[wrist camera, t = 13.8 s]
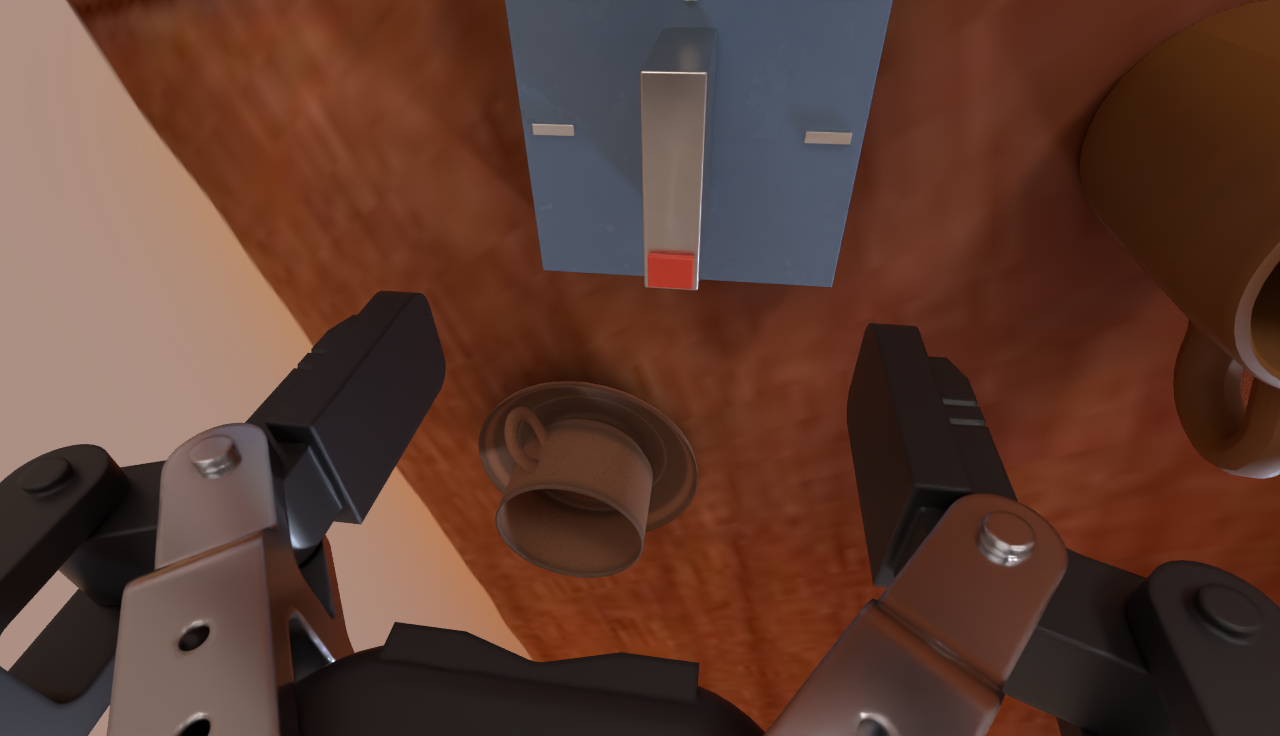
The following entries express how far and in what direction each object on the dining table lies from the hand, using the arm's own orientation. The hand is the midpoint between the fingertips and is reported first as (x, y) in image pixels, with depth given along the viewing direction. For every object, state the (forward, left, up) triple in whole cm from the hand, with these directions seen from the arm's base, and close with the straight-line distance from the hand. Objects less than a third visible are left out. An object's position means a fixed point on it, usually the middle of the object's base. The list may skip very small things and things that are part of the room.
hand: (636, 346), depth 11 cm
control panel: (-2, 0, -14) cm, 14 cm away
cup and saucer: (+18, -5, -14) cm, 24 cm away
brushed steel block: (0, 0, -11) cm, 11 cm away
